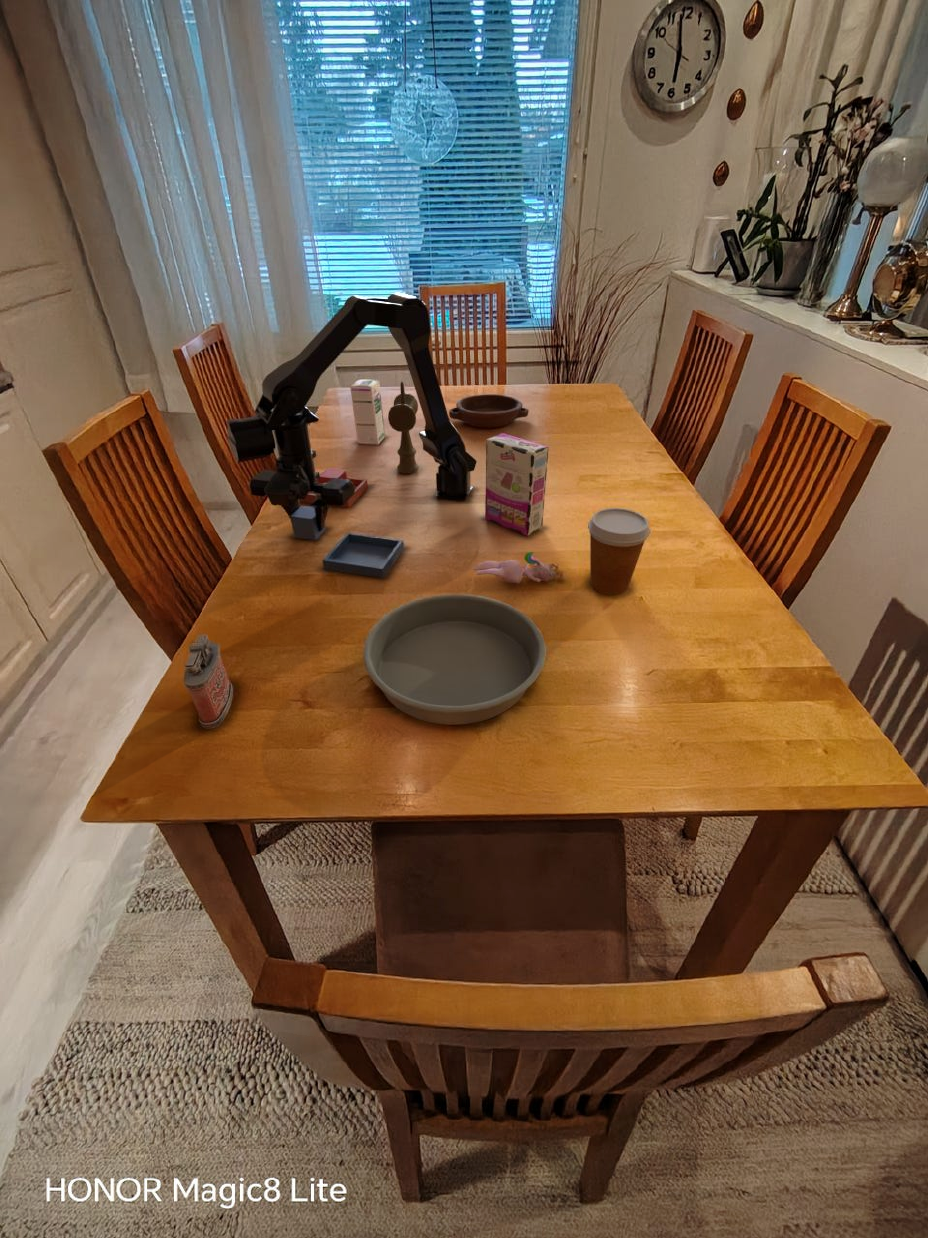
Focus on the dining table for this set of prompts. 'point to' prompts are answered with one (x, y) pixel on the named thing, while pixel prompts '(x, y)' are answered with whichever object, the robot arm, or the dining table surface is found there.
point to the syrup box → (368, 411)
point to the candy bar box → (515, 483)
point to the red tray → (359, 487)
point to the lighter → (208, 682)
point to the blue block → (305, 523)
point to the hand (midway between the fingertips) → (309, 528)
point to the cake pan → (454, 657)
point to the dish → (488, 410)
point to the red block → (331, 475)
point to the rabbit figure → (519, 570)
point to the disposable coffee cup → (615, 548)
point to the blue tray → (364, 555)
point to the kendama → (404, 428)
